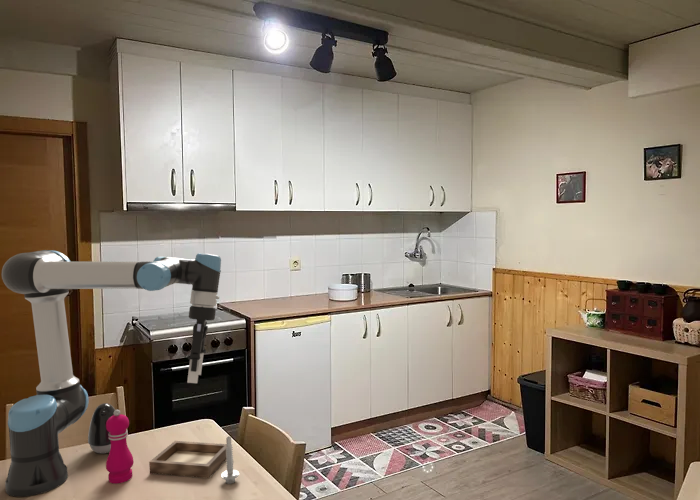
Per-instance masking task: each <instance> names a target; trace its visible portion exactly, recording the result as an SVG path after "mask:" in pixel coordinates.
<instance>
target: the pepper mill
mask: <svg viewBox="0 0 700 500" xmlns="http://www.w3.org/2000/svg"><path fill="white" fill-rule="evenodd" d="M129 426H130V420H129V417H127V415H125V414H121V410H119V409H115V411H114V415H113V416H111V417H110V418H109V419H108V420H107V422H106V429H107V431H108V432H110V433H109V434H108V435H109V439H110V441H111V448H110V452H109V453H108V455H107V457H106V461H105V469H106V471H107V472H108V482H109V483H110V484H113V485H114V484H116V485H118V484H122V483H126V482H128V481H130V480H131V479H132V478H133V469H132V467H133V466H134V456H133V454H132V452H131V450H130V449H129V447H128V443H127V437H128V435H129V433H128V428H129Z"/></svg>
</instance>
